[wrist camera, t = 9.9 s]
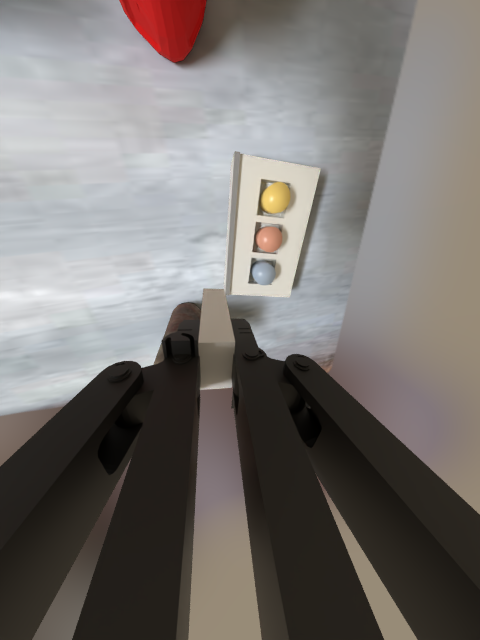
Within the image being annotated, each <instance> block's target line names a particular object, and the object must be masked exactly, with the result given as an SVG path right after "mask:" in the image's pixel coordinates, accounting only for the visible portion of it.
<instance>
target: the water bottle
mask: <svg viewBox="0 0 480 640" xmlns="http://www.w3.org/2000/svg"><path fill="white" fill-rule="evenodd" d="M119 1H120V3H121V5H122V8H123V10H124V12H125V14H126V15H127V17H128V18H129V19H130V21H131V22H132V24H133V25H134V27H135V28H136V29H137V31H138V32H139V33H140V34H141V35H142V36H143V37H144V38H145V39H146V40H147V41H148V42H149V43H150V45H151V46H152V47H153V48H154V49H155V50H156V51H157V52H158V53H159V54H160V55H162V56H163V57H165V58H167V59H169V60H170V61H172V62H178V61H182V60H184V59H185V57H186V56H187V55H188V53H189V52H190V51H191V49H192V47H193V45H194V42H195V40H196V37H197V35H198V32H199V30H200V28H201V25H202V22H203V17H204V12H205V6H206V0H119Z"/></svg>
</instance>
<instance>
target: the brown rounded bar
mask: <svg viewBox="0 0 480 640" xmlns="http://www.w3.org/2000/svg"><path fill="white" fill-rule="evenodd" d="M200 319H201V310H200V309H199V308H198V307H197V306H196V305H195V304H192V303H183V304H180V305H178V306H177V307H176V308H175V309H174V311H173V312H172V315H171V318H170V321H169V323H168V326H167V329H166V332H165V335H164V337H166V336H167V335H169V334H171V333H174V332H177V331H178V327H179V324H180V323H181V322H182V321H183V320H200ZM164 337H163V338H164ZM163 360H164V354H163V348H162V343H161V345H160V348H159V351H158V354H157V356H156V359H155V362H154V365H155V364H158V363H160V362H162V361H163Z"/></svg>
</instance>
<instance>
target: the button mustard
mask: <svg viewBox="0 0 480 640" xmlns="http://www.w3.org/2000/svg"><path fill="white" fill-rule="evenodd" d="M259 202H260V207H261V209H262V210H263V211H264V212H265V213H267V214H274V213H280V212H282V211H284V210H285V209H286V208H287V206H288V205H289V202H290V190H289V188H288V186H287V185H286V184H285V183H283V182H276V183H274V184H272V185H270V186H269V187H267V188H266V189H264V190H263V192H262V193H261V195H260V201H259Z"/></svg>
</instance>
